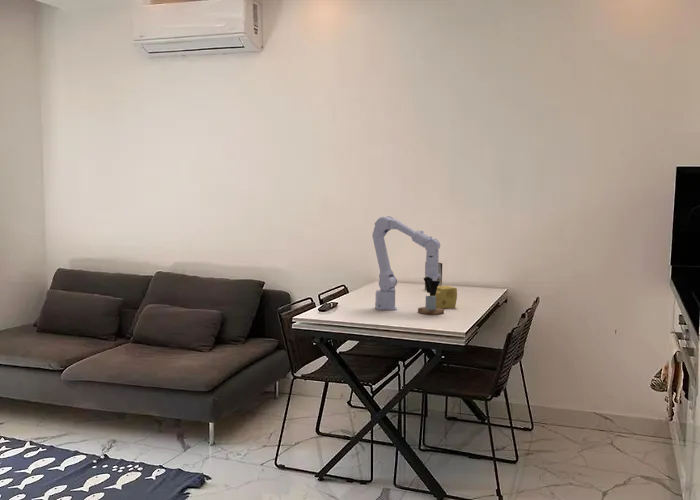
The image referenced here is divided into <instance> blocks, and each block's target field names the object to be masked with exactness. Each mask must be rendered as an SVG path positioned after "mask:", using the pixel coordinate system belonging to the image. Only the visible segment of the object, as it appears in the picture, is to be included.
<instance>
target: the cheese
mask: <svg viewBox="0 0 700 500" xmlns="http://www.w3.org/2000/svg"><path fill="white" fill-rule="evenodd" d="M429 296H431V295H430V294H429ZM435 297H436V307H437V308H442V309H456V305H457V299H458V289H457V287H453V286H450V285H442V286H438V287H437V291H436V294H435Z"/></svg>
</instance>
